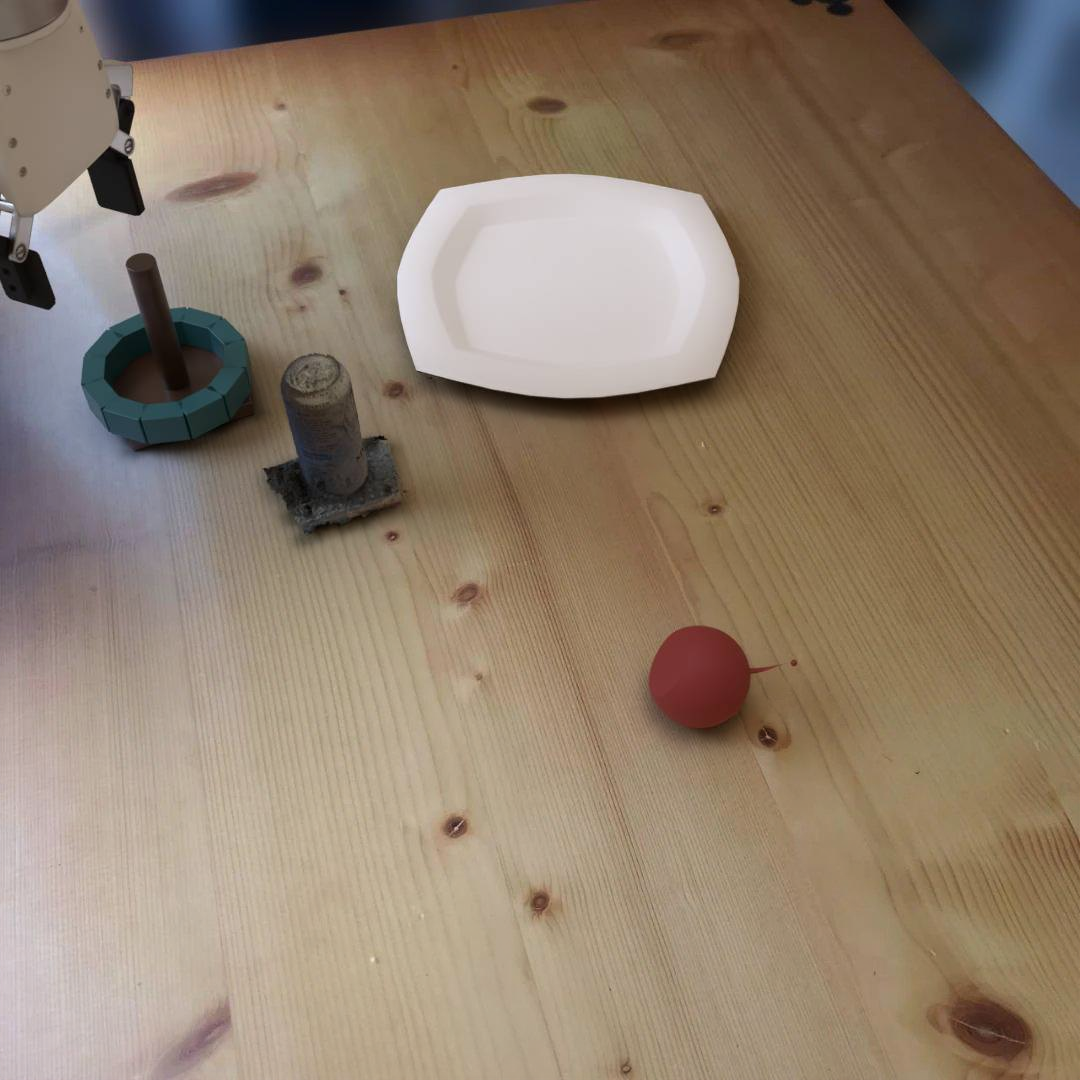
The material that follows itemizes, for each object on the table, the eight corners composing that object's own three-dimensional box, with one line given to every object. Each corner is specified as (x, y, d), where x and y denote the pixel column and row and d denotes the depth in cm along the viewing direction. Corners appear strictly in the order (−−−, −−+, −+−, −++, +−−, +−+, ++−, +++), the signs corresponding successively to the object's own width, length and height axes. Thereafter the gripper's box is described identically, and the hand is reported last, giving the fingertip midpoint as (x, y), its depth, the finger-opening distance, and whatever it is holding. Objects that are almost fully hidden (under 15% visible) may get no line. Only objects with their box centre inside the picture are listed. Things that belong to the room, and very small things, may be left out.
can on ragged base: (308, 551, 87) (281, 425, 78) (261, 478, 91) (230, 350, 82) (427, 497, 90) (414, 371, 81) (376, 429, 94) (359, 301, 85)
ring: (200, 460, 91) (193, 437, 89) (58, 417, 93) (49, 393, 92) (279, 354, 98) (274, 330, 96) (145, 317, 100) (138, 292, 98)
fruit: (714, 760, 80) (797, 708, 74) (636, 726, 78) (715, 670, 72) (719, 677, 83) (799, 621, 78) (645, 642, 82) (721, 583, 76)
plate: (726, 195, 112) (729, 175, 111) (748, 420, 95) (751, 400, 94) (414, 189, 113) (413, 169, 111) (381, 411, 96) (378, 392, 94)
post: (133, 451, 93) (88, 321, 84) (105, 371, 98) (59, 240, 89) (255, 414, 95) (224, 283, 86) (221, 338, 101) (188, 207, 91)
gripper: (28, -95, 74) (105, 164, 87) (-184, 58, 63) (-60, 326, 77) (143, -72, 72) (203, 189, 85) (-56, 89, 62) (48, 358, 75)
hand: (79, 254), depth 81 cm, fingers open, 9 cm apart
